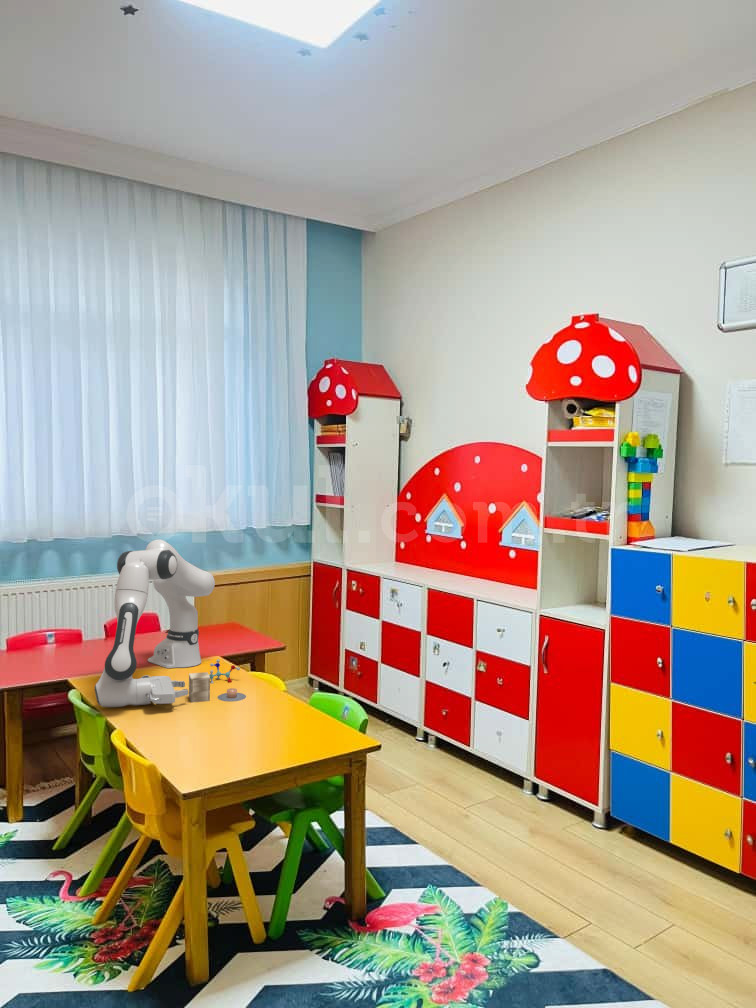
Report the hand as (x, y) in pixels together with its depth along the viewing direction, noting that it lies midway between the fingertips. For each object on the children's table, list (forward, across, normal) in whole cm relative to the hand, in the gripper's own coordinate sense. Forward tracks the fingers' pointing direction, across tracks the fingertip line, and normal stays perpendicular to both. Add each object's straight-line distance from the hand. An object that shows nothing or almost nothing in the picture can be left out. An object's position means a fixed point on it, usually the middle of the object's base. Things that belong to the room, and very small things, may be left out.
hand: (186, 687), depth 274 cm
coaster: (+16, -1, +5) cm, 16 cm away
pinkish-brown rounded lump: (+16, -1, +4) cm, 16 cm away
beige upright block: (+4, 0, +5) cm, 7 cm away
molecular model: (+15, +20, +5) cm, 26 cm away
